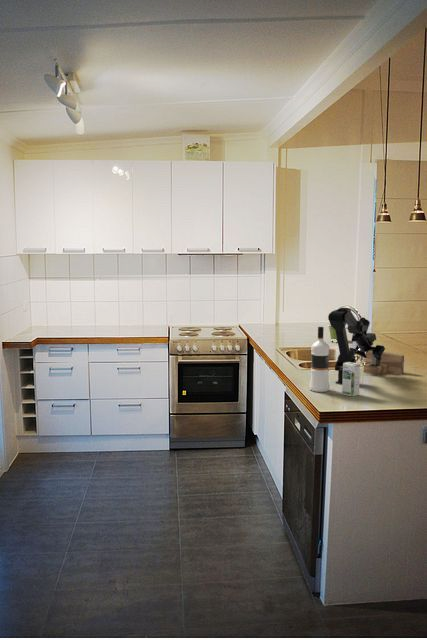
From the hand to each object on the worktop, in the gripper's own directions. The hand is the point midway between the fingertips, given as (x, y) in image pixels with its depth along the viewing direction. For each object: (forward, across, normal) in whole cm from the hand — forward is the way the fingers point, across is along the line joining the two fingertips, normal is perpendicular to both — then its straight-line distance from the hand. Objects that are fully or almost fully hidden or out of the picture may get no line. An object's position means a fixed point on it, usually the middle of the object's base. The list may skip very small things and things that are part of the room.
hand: (373, 358), depth 287 cm
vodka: (-29, -6, +41) cm, 51 cm away
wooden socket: (+9, 0, +2) cm, 9 cm away
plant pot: (+51, +76, -41) cm, 100 cm away
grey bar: (+8, 0, +3) cm, 8 cm away
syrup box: (-26, -20, +38) cm, 50 cm away
